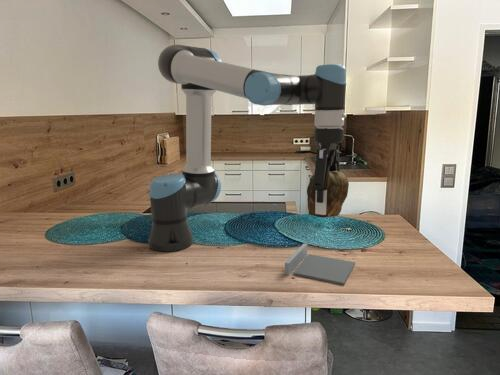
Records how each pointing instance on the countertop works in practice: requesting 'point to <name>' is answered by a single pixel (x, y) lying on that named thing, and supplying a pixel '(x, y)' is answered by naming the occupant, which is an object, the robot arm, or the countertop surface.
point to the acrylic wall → (295, 259)
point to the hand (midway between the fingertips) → (326, 208)
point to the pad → (325, 269)
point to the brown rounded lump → (330, 194)
